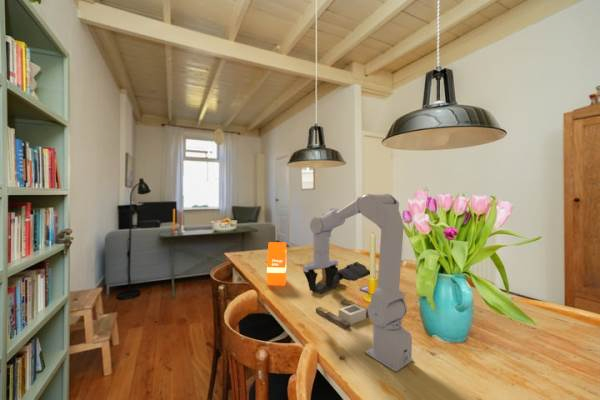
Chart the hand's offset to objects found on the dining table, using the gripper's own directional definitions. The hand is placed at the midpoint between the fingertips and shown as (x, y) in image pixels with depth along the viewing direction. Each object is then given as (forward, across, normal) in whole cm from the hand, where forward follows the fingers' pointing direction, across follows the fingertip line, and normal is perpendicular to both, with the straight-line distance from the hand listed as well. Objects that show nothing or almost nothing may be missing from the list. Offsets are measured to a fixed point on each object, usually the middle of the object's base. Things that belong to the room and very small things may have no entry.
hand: (320, 288), depth 92 cm
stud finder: (+10, -8, +7) cm, 15 cm away
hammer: (+10, -20, -20) cm, 30 cm away
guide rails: (+10, -8, +4) cm, 14 cm away
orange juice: (+10, -5, -40) cm, 41 cm away
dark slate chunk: (+11, -47, -30) cm, 57 cm away
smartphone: (+11, -36, -4) cm, 37 cm away
